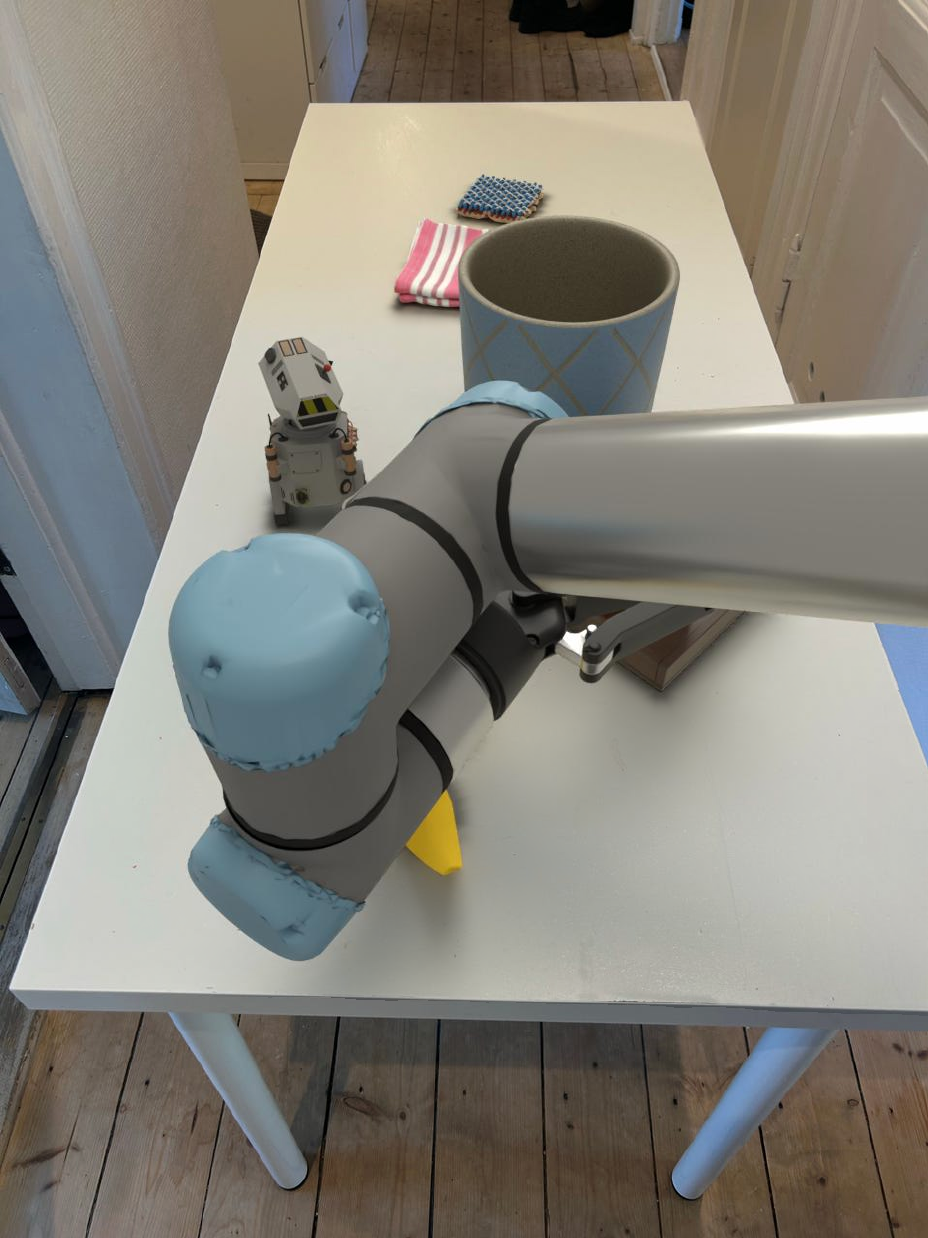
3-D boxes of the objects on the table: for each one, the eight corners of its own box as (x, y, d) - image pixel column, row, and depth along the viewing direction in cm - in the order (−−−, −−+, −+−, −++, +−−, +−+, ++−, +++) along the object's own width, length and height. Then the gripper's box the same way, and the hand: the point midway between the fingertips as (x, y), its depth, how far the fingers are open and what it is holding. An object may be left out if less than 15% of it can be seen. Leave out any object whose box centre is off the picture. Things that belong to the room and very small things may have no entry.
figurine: (366, 454, 92) (350, 323, 81) (369, 531, 85) (352, 399, 74) (277, 460, 92) (249, 329, 81) (273, 539, 84) (240, 406, 73)
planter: (479, 386, 100) (478, 207, 85) (652, 403, 97) (683, 222, 82) (445, 500, 88) (437, 315, 72) (641, 523, 85) (676, 336, 70)
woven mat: (547, 195, 130) (547, 181, 128) (523, 229, 123) (524, 214, 122) (479, 185, 132) (479, 171, 131) (453, 217, 126) (452, 202, 124)
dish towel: (418, 240, 122) (416, 214, 119) (590, 250, 119) (593, 225, 117) (392, 306, 111) (390, 280, 108) (581, 320, 108) (584, 293, 106)
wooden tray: (772, 583, 80) (781, 558, 78) (661, 692, 72) (667, 669, 70) (624, 496, 88) (628, 472, 85) (509, 587, 80) (510, 563, 78)
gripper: (272, 629, 55) (462, 443, 66) (645, 829, 46) (790, 572, 57) (247, 541, 49) (460, 354, 61) (668, 749, 40) (824, 482, 51)
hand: (620, 459), depth 59 cm, fingers open, 13 cm apart
